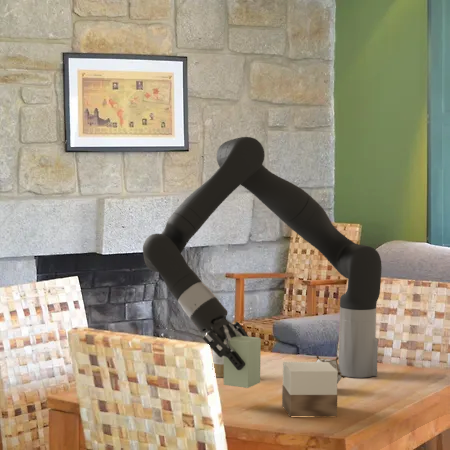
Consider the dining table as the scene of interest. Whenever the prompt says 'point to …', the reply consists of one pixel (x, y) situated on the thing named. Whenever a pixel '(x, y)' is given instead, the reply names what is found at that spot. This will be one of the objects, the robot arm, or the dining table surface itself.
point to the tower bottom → (309, 404)
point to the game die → (334, 364)
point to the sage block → (251, 356)
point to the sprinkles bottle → (218, 364)
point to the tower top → (310, 378)
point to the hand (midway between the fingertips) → (249, 364)
